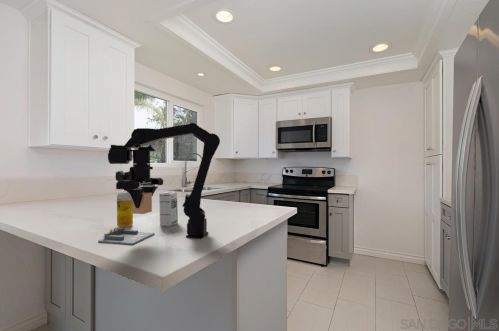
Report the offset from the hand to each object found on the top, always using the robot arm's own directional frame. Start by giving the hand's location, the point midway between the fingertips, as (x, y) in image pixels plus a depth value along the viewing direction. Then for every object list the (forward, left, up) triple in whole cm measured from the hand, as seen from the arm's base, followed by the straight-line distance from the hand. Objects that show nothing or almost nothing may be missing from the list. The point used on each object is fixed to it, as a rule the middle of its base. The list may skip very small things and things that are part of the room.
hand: (141, 206), depth 85 cm
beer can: (+19, -14, -12) cm, 27 cm away
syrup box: (+2, -21, -12) cm, 24 cm away
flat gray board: (+6, 0, -12) cm, 13 cm away
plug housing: (0, 0, -2) cm, 2 cm away
